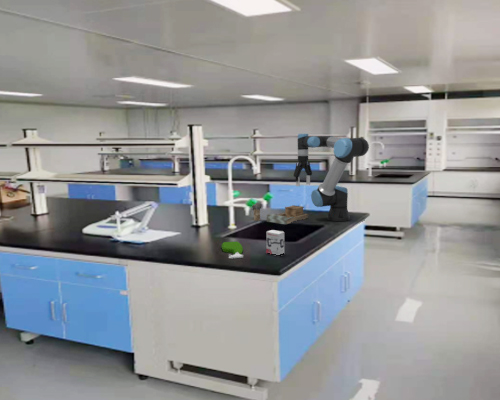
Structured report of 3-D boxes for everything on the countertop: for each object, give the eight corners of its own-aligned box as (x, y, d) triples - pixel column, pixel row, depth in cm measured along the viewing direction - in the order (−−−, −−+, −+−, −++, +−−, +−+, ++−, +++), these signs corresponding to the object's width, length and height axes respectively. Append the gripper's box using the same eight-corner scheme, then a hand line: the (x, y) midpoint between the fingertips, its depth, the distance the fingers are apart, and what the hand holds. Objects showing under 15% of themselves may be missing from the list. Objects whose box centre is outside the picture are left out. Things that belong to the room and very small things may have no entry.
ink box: (265, 253, 233) (265, 231, 232) (272, 251, 237) (271, 229, 235) (278, 256, 228) (278, 233, 226) (285, 254, 231) (284, 231, 229)
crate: (303, 218, 322) (303, 206, 321) (295, 220, 316) (295, 208, 314) (292, 216, 329) (292, 205, 327) (284, 218, 322) (284, 207, 320)
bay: (307, 218, 321) (307, 211, 320) (285, 224, 302) (285, 217, 301) (289, 215, 331) (289, 208, 330) (266, 221, 312) (266, 214, 311)
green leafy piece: (240, 246, 250) (247, 259, 226) (220, 247, 248) (226, 260, 224) (240, 241, 249) (247, 253, 225) (220, 242, 247) (226, 255, 224)
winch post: (261, 220, 316) (261, 200, 314) (257, 221, 313) (257, 201, 311) (255, 219, 321) (254, 199, 318) (250, 220, 317) (250, 200, 315)
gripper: (308, 154, 335) (308, 183, 338) (288, 156, 317) (288, 186, 320) (316, 154, 330) (316, 183, 333) (297, 156, 312) (297, 187, 315)
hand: (303, 185), depth 326 cm, fingers open, 12 cm apart
